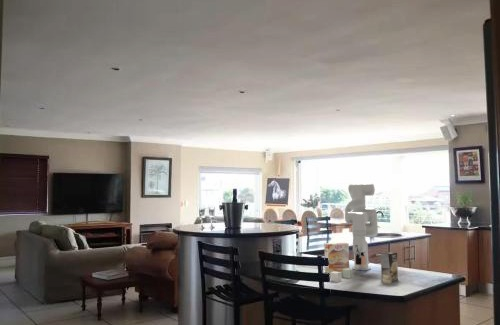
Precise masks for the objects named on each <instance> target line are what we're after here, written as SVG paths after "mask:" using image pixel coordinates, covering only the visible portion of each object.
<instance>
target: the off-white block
mask: <svg viewBox="0 0 500 325" xmlns="http://www.w3.org/2000/svg"><path fill="white" fill-rule="evenodd" d="M329 276H330V278H329V279H330V282H337V283H339V282H341V281H343V280H342V279H343V275H342V273H341V272H335V271H334V272H331V273H330V274H329Z"/></svg>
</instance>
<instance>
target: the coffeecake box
mask: <svg viewBox="0 0 500 325" xmlns="http://www.w3.org/2000/svg"><path fill="white" fill-rule="evenodd" d="M323 246H324V258H325V257H326V258H328V260H329V266H328V267H325V266H324V272H325V273H326V274H328V273H331V272H334V271H335V272H341V274H342V269H344V268H350V245H349V243H347V242H325V243H324V245H323Z"/></svg>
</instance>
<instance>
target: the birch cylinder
mask: <svg viewBox="0 0 500 325" xmlns="http://www.w3.org/2000/svg"><path fill="white" fill-rule="evenodd" d="M381 281H382V284H385V285H391V283H392V282H393V281H391V274H382V276H381Z"/></svg>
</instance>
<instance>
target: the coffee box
mask: <svg viewBox="0 0 500 325" xmlns="http://www.w3.org/2000/svg"><path fill="white" fill-rule="evenodd" d="M380 266H381V268H380V269H381V271H380V272H381V275H380V276H381V277H382V274H391V282H393V281H396V280H398V279H399V273H398V272H399V270H398V268H399V266H398V252H394V251H387V252H380Z"/></svg>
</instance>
